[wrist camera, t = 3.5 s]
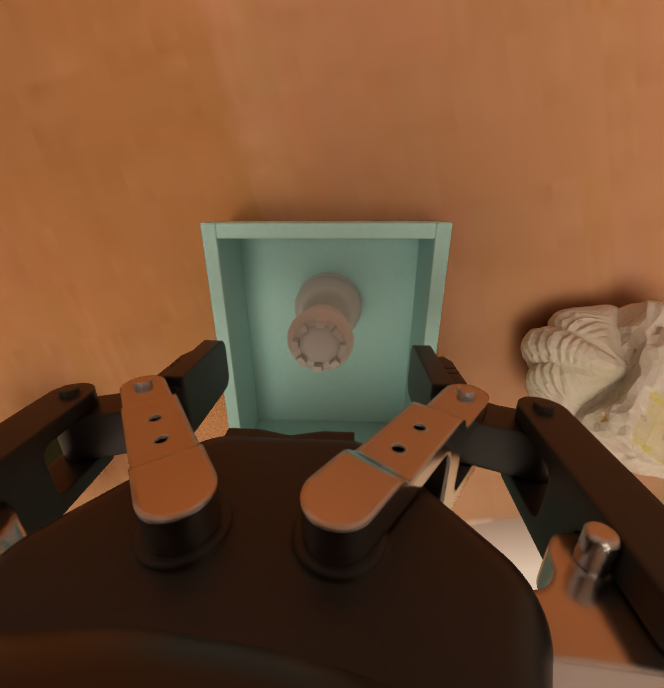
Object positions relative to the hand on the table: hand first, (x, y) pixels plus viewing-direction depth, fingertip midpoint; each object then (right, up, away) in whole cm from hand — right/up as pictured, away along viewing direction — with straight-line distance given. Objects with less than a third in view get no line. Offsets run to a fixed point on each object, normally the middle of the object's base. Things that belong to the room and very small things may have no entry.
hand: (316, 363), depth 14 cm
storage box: (0, +2, +10) cm, 10 cm away
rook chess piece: (0, +4, +9) cm, 9 cm away
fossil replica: (+19, 0, +10) cm, 21 cm away
